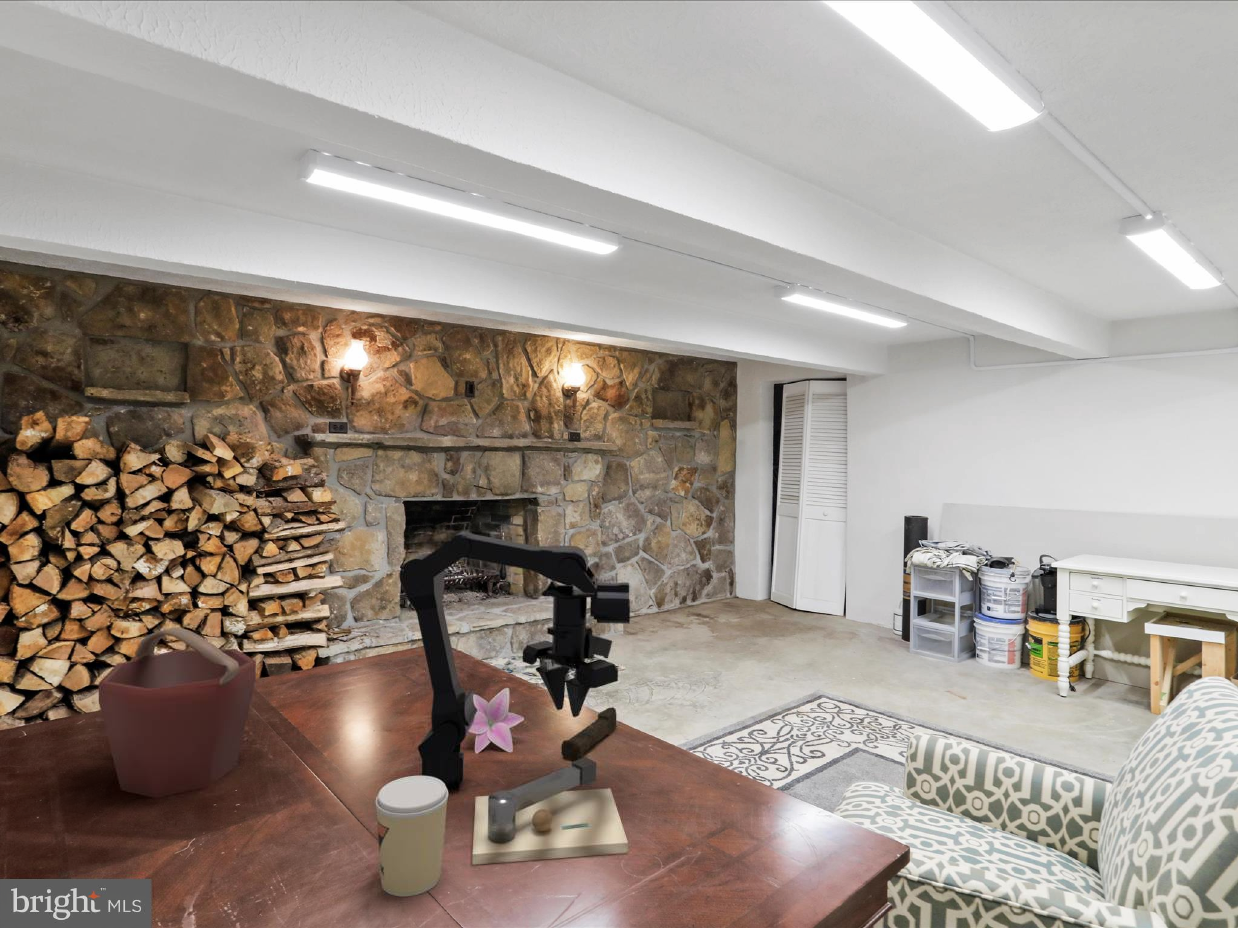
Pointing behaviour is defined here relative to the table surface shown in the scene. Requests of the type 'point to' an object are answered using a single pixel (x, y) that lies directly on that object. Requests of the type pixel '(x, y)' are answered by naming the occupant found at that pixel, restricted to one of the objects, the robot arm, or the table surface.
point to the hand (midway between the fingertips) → (567, 712)
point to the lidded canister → (411, 834)
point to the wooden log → (589, 735)
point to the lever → (533, 797)
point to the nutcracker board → (554, 829)
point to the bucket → (176, 714)
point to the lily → (494, 722)
